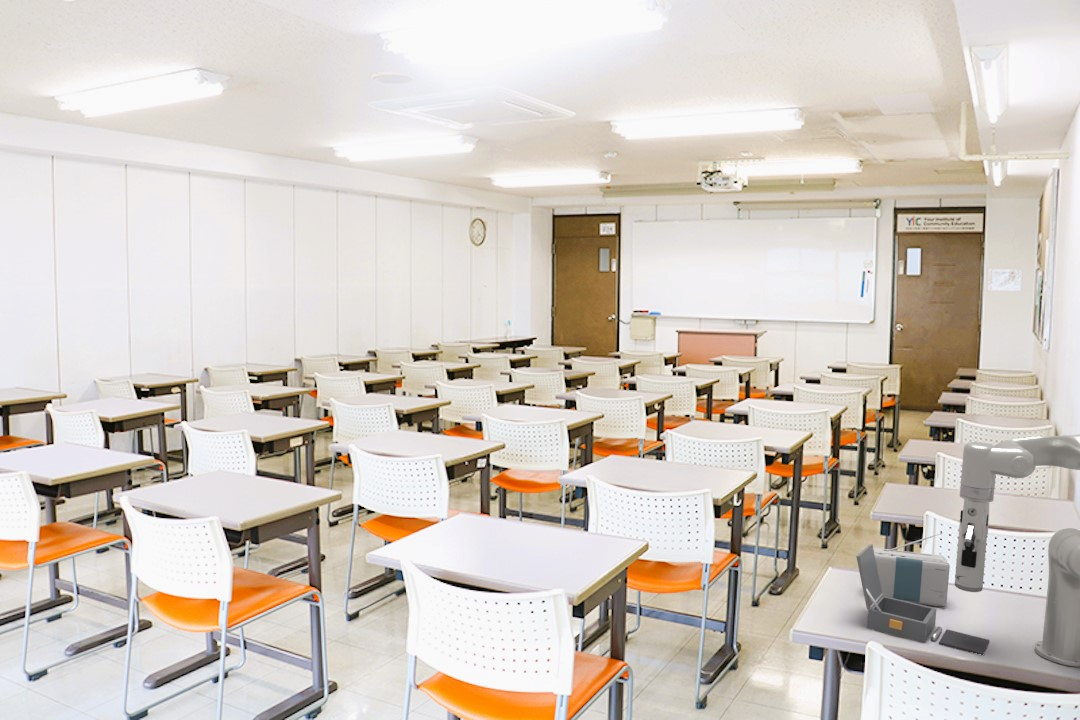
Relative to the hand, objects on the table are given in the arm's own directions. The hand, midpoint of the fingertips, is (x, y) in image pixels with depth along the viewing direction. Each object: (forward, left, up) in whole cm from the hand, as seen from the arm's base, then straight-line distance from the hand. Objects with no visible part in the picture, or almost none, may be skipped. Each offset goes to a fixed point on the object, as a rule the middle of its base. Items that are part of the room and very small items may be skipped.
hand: (970, 562), depth 212 cm
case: (+17, 0, -21) cm, 27 cm away
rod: (+6, 0, -21) cm, 22 cm away
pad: (0, 0, -21) cm, 21 cm away
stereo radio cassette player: (+19, -22, -21) cm, 36 cm away
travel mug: (0, 0, -7) cm, 7 cm away
